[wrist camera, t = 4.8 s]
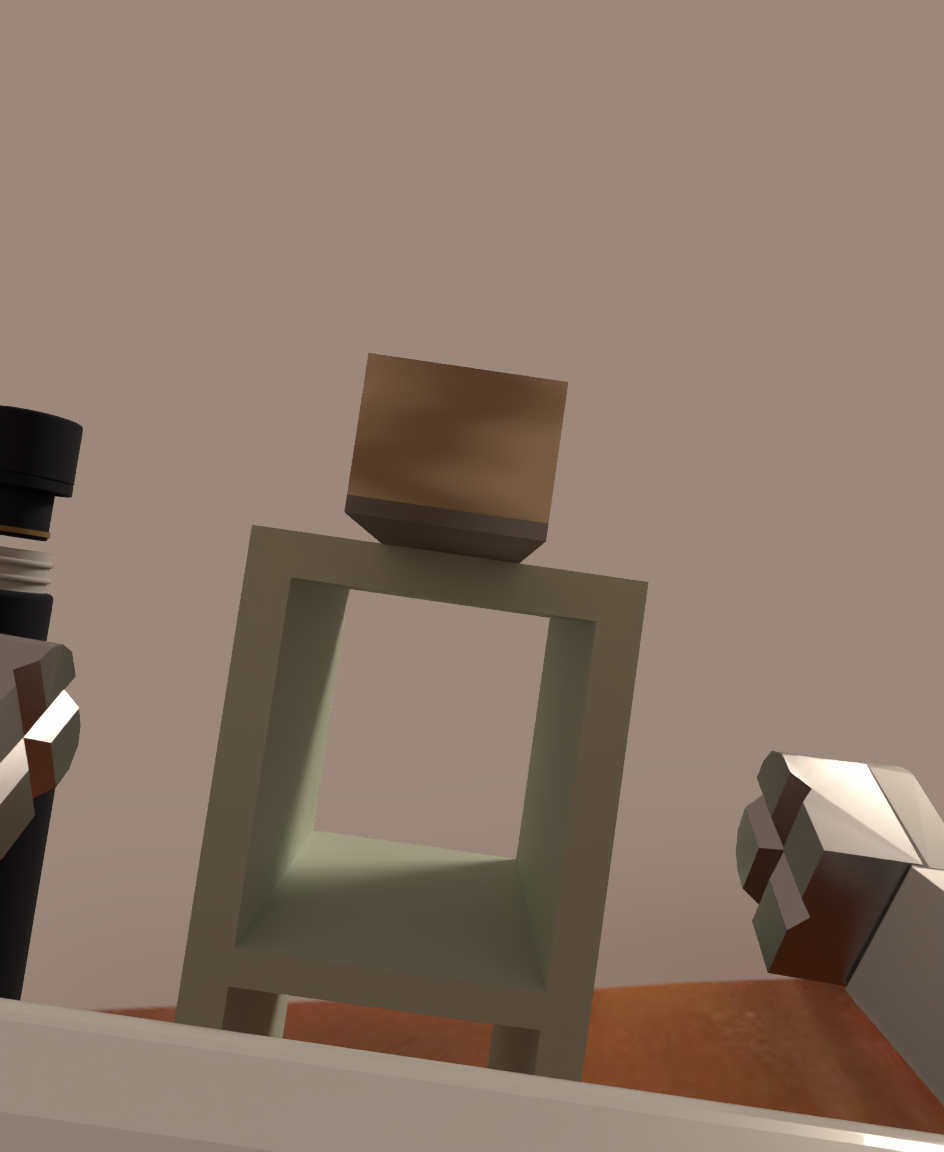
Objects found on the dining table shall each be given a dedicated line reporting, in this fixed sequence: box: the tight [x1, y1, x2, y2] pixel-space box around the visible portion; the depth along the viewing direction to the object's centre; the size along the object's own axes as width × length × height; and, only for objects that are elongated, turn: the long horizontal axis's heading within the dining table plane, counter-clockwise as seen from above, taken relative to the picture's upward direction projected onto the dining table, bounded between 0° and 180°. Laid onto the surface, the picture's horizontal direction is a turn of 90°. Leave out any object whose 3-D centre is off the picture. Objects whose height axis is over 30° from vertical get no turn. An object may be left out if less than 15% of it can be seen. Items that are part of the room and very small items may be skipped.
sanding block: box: [345, 353, 568, 563], centre depth 28 cm, size 4×19×4 cm, turn 1°
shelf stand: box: [174, 525, 648, 1082], centre depth 33 cm, size 13×14×26 cm
